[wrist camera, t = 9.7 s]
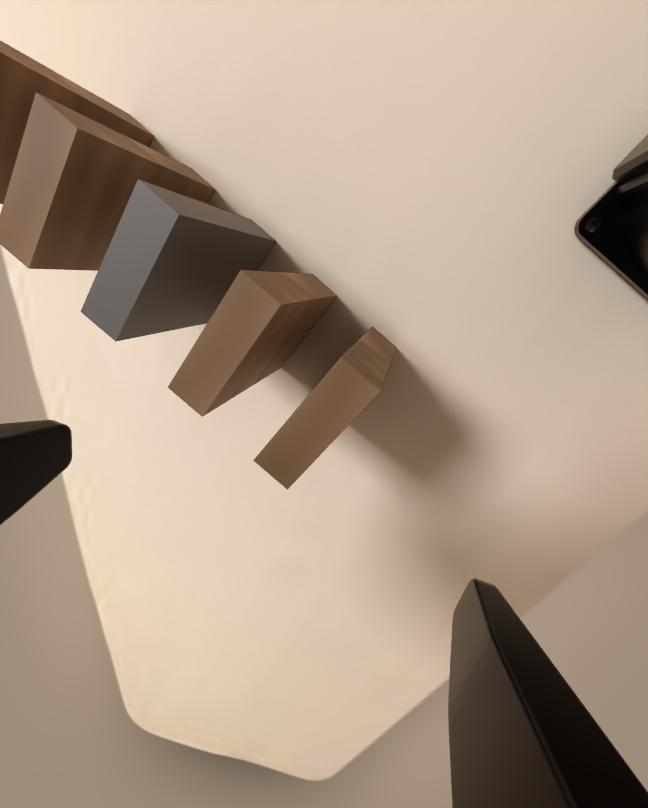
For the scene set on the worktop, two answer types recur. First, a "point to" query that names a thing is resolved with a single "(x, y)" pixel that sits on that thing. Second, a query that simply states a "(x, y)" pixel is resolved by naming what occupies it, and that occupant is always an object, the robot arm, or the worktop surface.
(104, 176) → the domino
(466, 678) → the robot arm
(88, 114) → the domino
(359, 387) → the domino
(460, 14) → the worktop surface
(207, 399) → the domino
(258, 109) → the worktop surface
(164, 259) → the gray domino
